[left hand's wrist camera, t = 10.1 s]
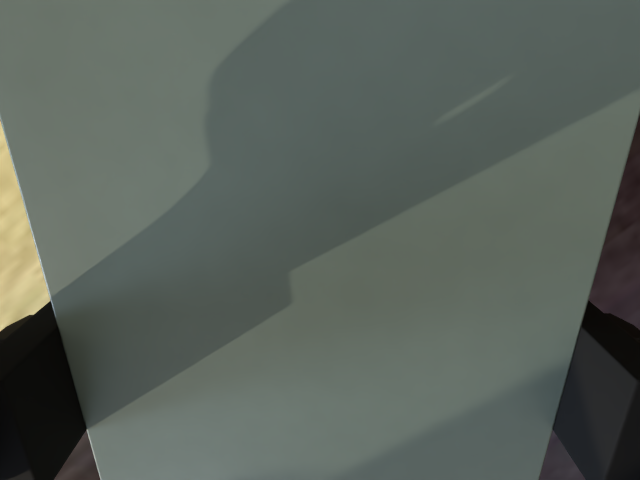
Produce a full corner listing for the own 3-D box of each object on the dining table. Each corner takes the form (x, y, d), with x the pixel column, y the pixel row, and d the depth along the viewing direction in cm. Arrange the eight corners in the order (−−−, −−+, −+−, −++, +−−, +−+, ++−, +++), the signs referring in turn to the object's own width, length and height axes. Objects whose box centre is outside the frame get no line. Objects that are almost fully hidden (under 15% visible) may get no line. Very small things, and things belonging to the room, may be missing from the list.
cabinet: (139, -191, 12) (-240, -731, 4) (498, -191, 12) (876, -729, 4) (201, 308, 19) (106, 503, 10) (438, 307, 19) (533, 502, 10)
